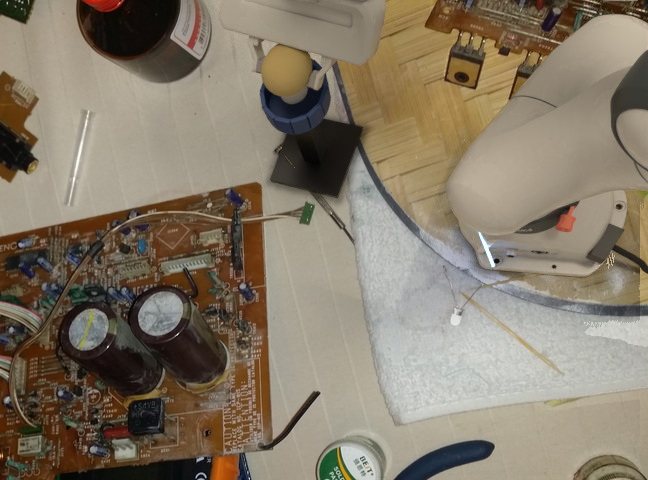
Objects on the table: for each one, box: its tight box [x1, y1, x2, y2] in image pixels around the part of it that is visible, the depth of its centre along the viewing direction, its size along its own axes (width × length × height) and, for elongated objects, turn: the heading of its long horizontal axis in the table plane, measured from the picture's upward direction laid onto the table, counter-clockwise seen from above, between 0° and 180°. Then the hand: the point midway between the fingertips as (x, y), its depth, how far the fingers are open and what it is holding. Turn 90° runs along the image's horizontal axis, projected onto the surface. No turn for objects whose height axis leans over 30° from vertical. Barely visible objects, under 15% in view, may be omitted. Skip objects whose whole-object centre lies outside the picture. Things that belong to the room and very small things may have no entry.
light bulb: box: [260, 43, 313, 104], centre depth 91 cm, size 6×6×10 cm
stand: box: [269, 118, 364, 199], centre depth 109 cm, size 12×12×22 cm
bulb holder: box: [259, 57, 332, 135], centre depth 97 cm, size 9×9×4 cm
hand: (286, 79), depth 91 cm, fingers closed on light bulb, 6 cm apart
